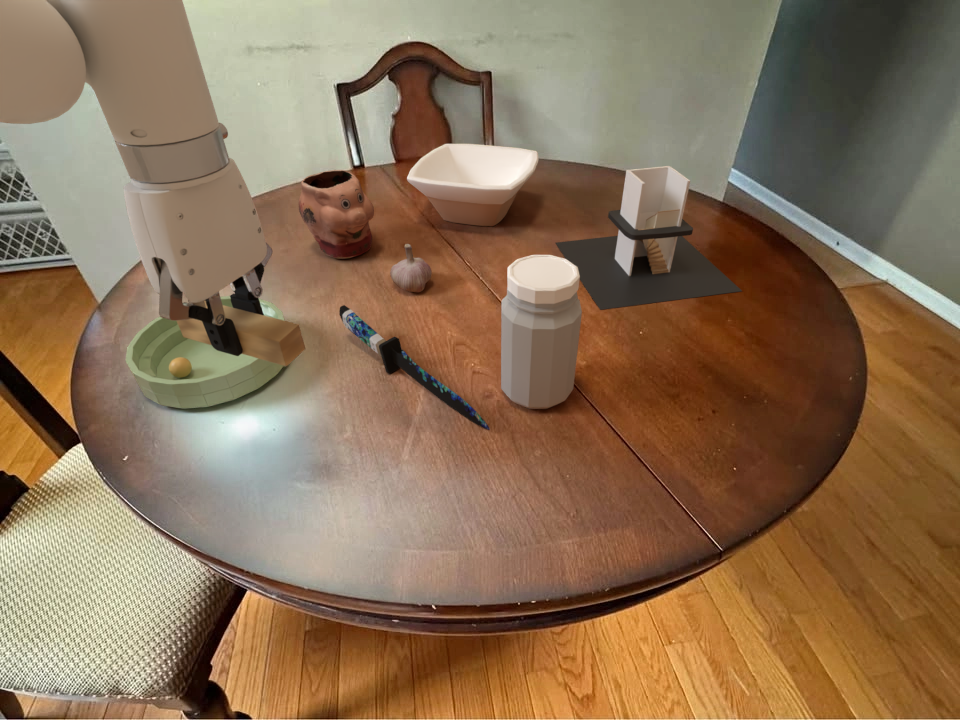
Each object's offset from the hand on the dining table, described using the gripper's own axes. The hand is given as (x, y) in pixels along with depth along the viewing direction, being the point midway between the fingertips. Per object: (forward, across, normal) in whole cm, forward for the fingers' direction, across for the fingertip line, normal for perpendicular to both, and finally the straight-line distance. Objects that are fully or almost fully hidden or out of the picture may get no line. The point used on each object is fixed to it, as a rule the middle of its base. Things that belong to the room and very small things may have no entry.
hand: (242, 339), depth 55 cm
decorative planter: (+17, -48, -24) cm, 57 cm away
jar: (+17, -22, +24) cm, 37 cm away
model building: (+17, -61, +31) cm, 71 cm away
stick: (0, 0, 0) cm, 0 cm away
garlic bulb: (+17, -40, -4) cm, 44 cm away
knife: (+17, -18, +7) cm, 26 cm away
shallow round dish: (+17, -11, -20) cm, 29 cm away
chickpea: (+16, -6, -22) cm, 28 cm away
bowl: (+17, -72, -6) cm, 74 cm away
